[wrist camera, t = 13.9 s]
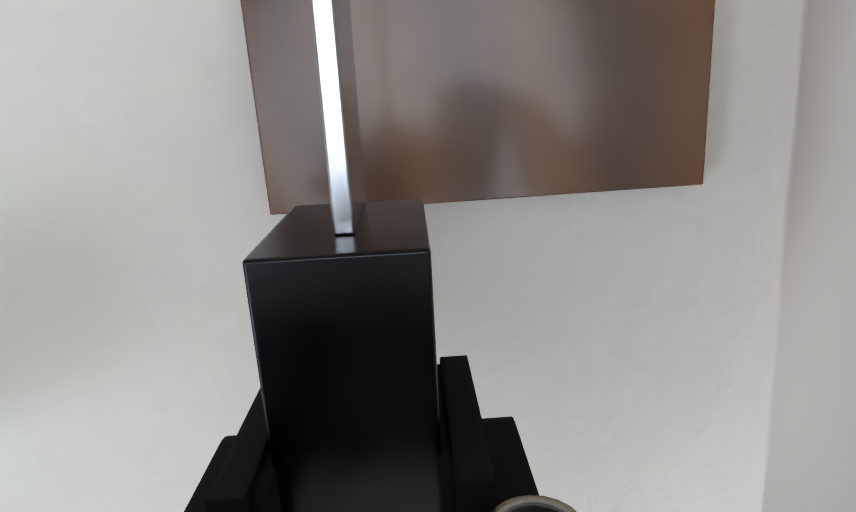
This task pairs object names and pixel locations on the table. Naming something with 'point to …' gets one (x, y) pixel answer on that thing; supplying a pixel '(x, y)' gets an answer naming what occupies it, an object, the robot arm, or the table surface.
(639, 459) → the table surface
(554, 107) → the butter board
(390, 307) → the screwdriver
